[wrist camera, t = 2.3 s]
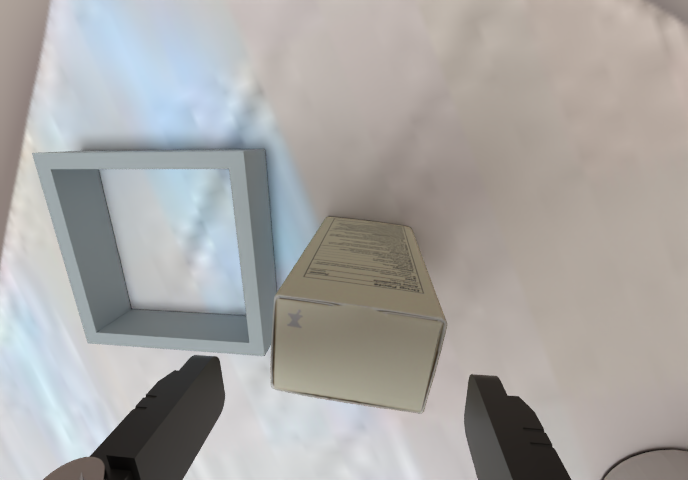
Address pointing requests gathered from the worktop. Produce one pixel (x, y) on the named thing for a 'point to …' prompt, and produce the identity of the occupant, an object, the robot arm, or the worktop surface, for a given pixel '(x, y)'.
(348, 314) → the skincare box
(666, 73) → the worktop surface
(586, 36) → the worktop surface
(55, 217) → the box
